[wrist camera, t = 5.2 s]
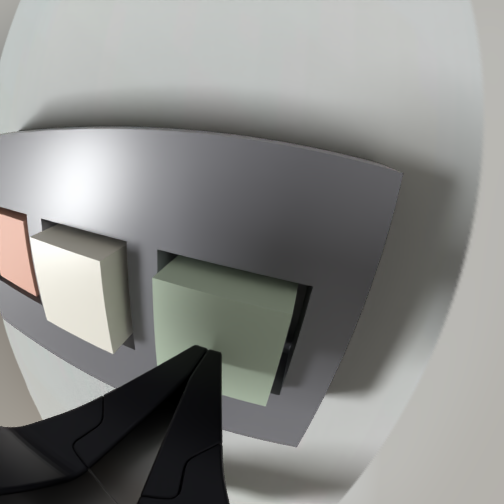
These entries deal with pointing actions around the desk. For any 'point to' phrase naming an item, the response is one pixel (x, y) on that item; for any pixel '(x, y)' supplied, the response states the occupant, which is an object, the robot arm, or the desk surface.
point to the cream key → (84, 284)
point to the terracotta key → (16, 251)
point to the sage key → (224, 321)
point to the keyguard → (209, 241)
